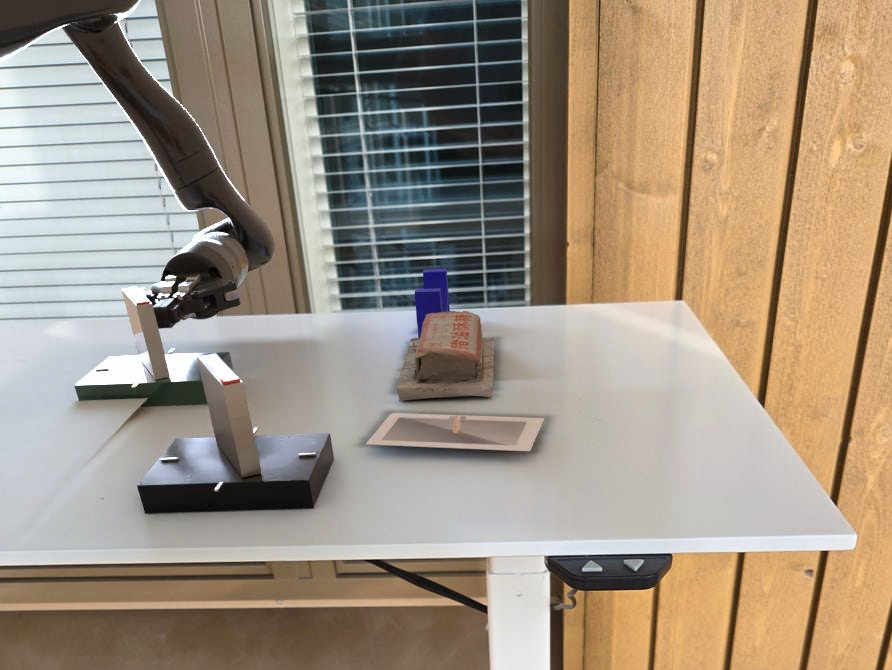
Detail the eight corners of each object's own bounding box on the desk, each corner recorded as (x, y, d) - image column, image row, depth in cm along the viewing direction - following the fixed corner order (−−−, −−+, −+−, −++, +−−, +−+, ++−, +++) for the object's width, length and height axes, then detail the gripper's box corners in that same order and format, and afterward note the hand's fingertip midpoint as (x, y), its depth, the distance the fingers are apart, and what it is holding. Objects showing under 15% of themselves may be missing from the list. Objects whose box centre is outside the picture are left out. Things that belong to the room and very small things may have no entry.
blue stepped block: (455, 342, 108) (452, 290, 105) (418, 343, 108) (414, 292, 105) (461, 315, 118) (458, 268, 115) (427, 317, 118) (423, 269, 115)
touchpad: (530, 462, 77) (529, 439, 76) (366, 455, 80) (364, 432, 79) (544, 429, 83) (544, 407, 82) (392, 423, 86) (390, 402, 85)
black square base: (137, 522, 71) (128, 492, 69) (187, 457, 82) (180, 429, 80) (310, 517, 70) (304, 486, 69) (337, 452, 81) (332, 424, 80)
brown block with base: (407, 309, 103) (493, 305, 103) (411, 351, 106) (494, 348, 105) (392, 356, 88) (491, 352, 88) (396, 403, 91) (493, 399, 91)
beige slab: (139, 358, 100) (120, 286, 95) (154, 356, 100) (135, 284, 96) (155, 379, 93) (135, 303, 89) (170, 376, 94) (151, 301, 89)
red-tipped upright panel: (216, 442, 78) (196, 353, 73) (234, 438, 78) (215, 350, 74) (242, 478, 71) (221, 383, 67) (261, 473, 71) (242, 379, 67)
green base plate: (75, 413, 93) (67, 389, 92) (120, 373, 104) (114, 350, 102) (205, 409, 92) (199, 384, 91) (237, 369, 103) (232, 346, 102)
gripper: (140, 247, 105) (87, 285, 90) (251, 241, 104) (215, 277, 90) (157, 313, 109) (109, 358, 95) (264, 306, 109) (231, 351, 94)
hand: (161, 318), depth 92 cm, fingers closed
